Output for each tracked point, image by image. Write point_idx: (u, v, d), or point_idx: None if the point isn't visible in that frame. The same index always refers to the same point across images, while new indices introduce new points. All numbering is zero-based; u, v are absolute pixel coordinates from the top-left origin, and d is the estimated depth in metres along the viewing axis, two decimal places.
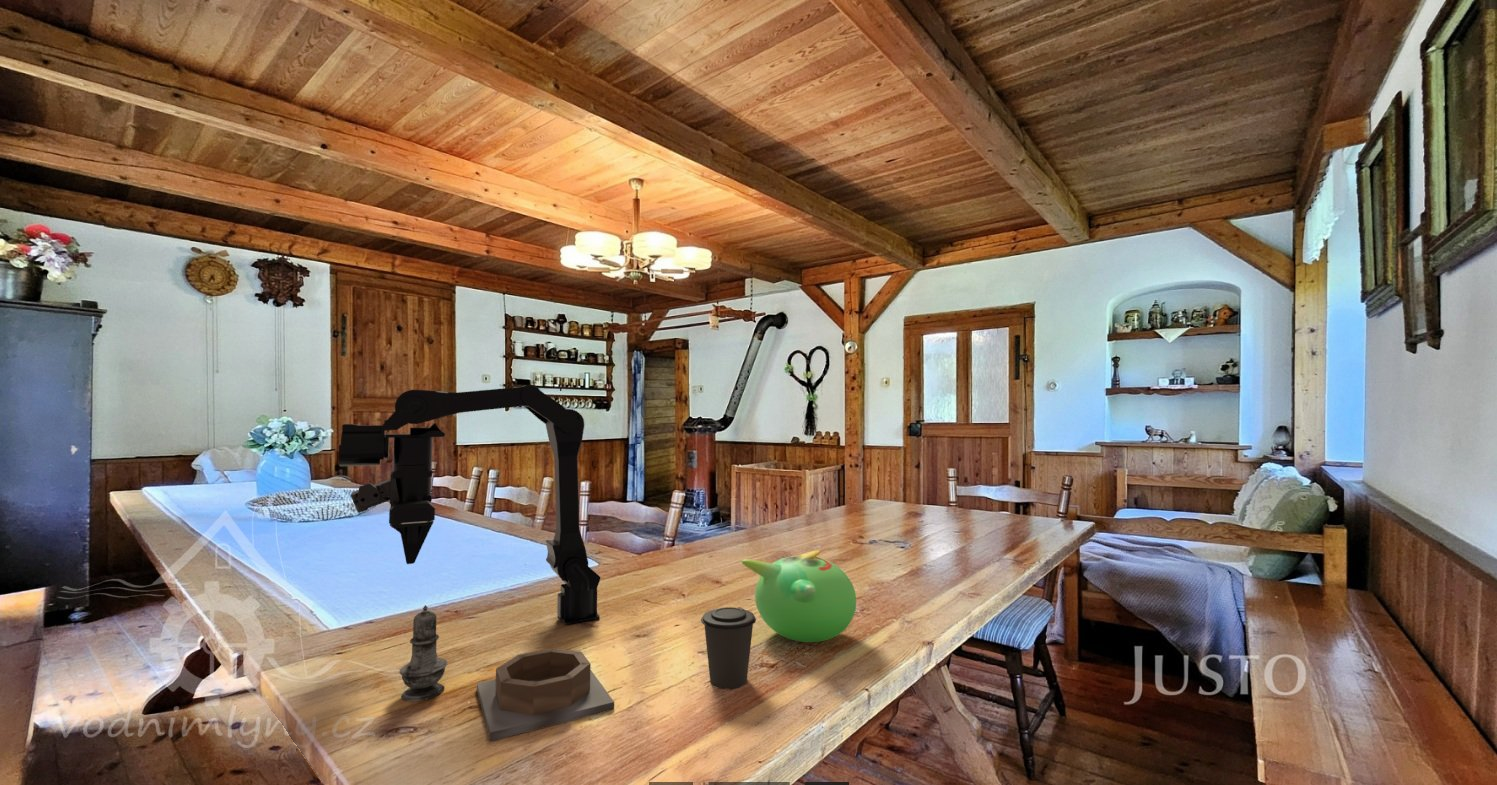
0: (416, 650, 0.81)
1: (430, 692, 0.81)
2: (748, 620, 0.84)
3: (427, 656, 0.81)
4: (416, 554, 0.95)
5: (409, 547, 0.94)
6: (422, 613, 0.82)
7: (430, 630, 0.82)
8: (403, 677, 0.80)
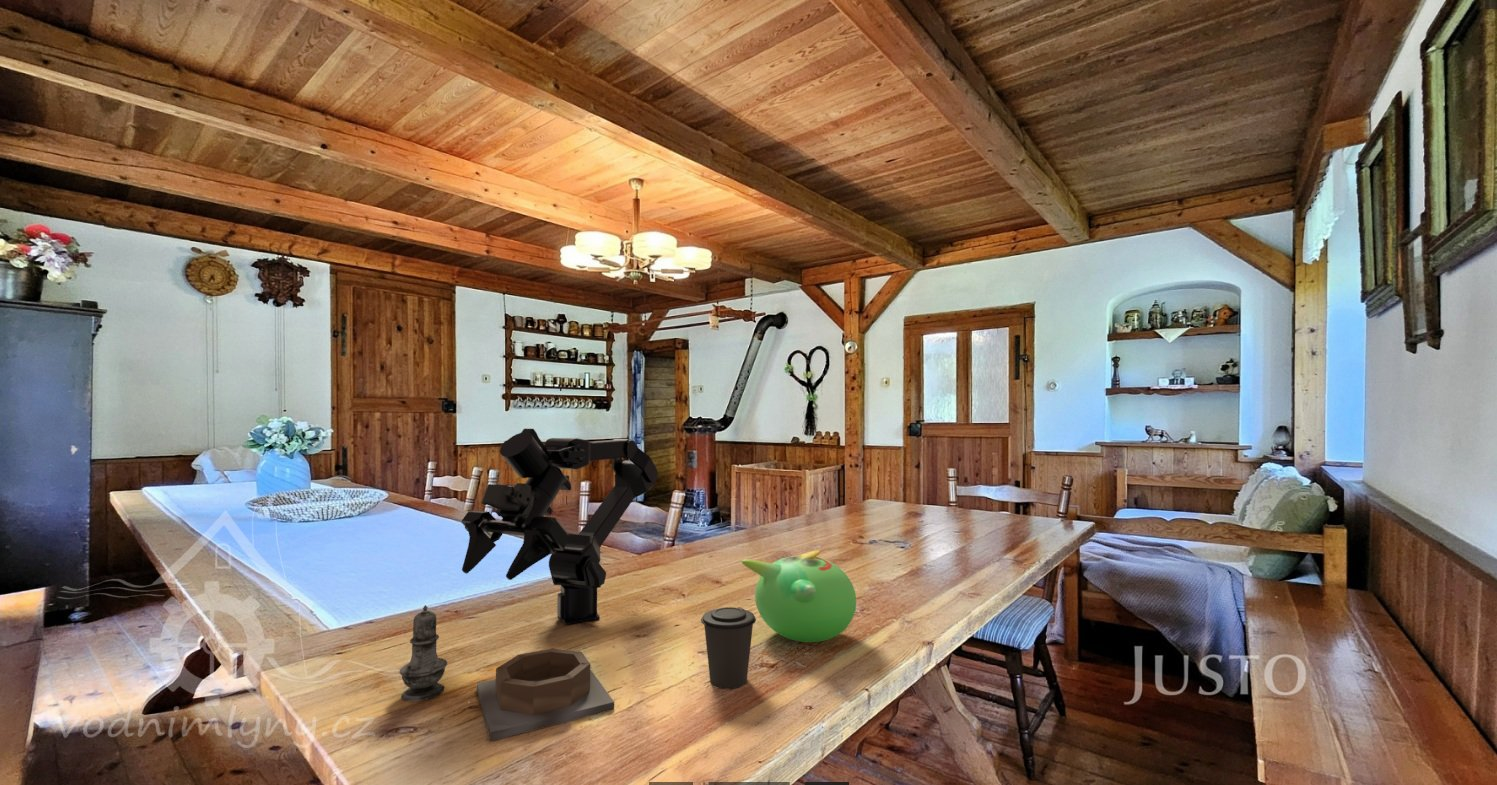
0: (416, 650, 0.81)
1: (430, 692, 0.81)
2: (748, 620, 0.84)
3: (427, 656, 0.81)
4: (519, 572, 0.92)
5: (522, 562, 0.92)
6: (422, 613, 0.82)
7: (430, 630, 0.82)
8: (403, 677, 0.80)
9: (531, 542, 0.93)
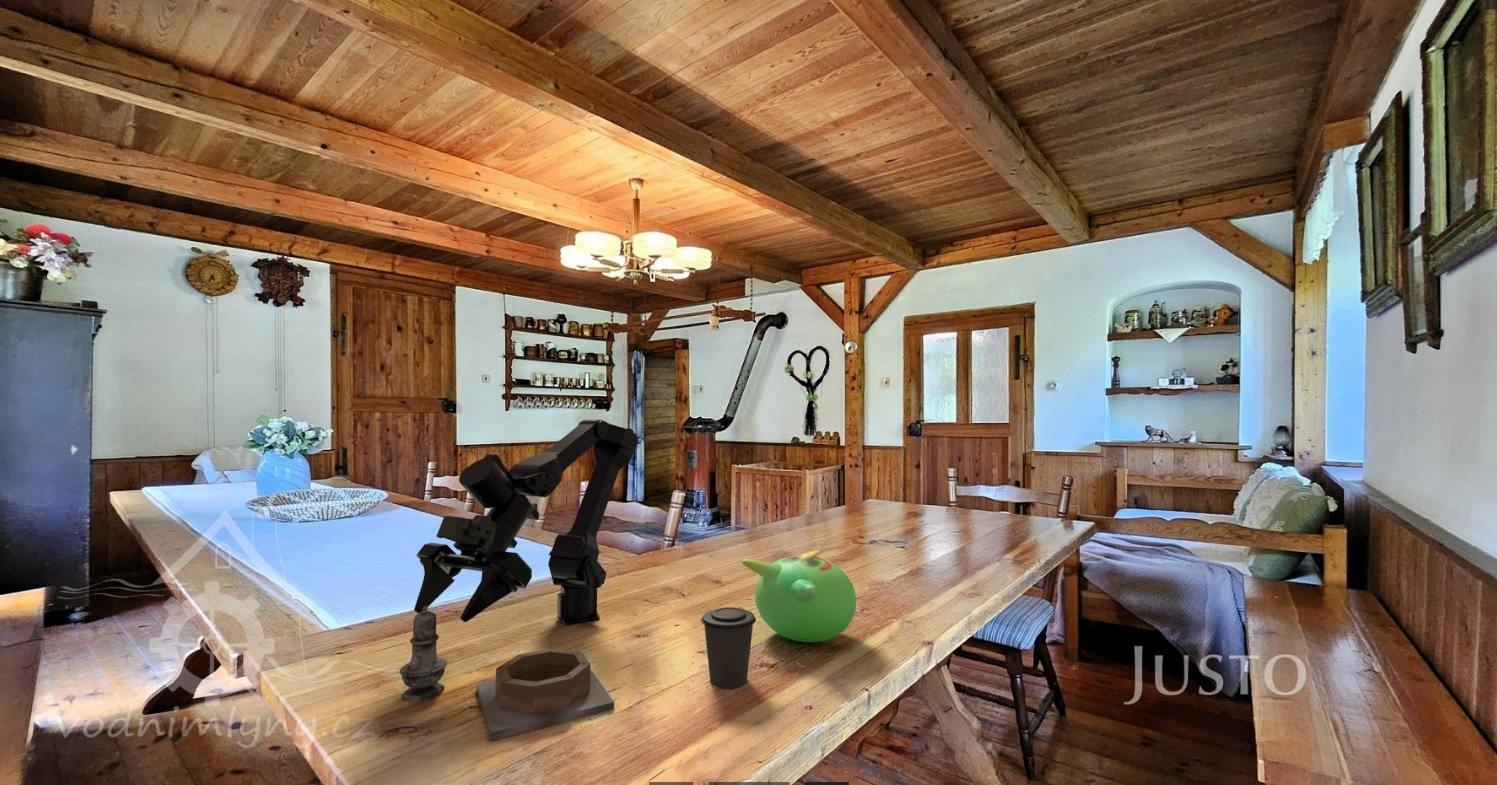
0: (416, 650, 0.81)
1: (430, 692, 0.81)
2: (748, 620, 0.84)
3: (427, 656, 0.81)
4: (475, 614, 0.84)
5: (479, 602, 0.84)
6: (422, 613, 0.82)
7: (430, 630, 0.82)
8: (403, 677, 0.80)
9: (489, 580, 0.85)
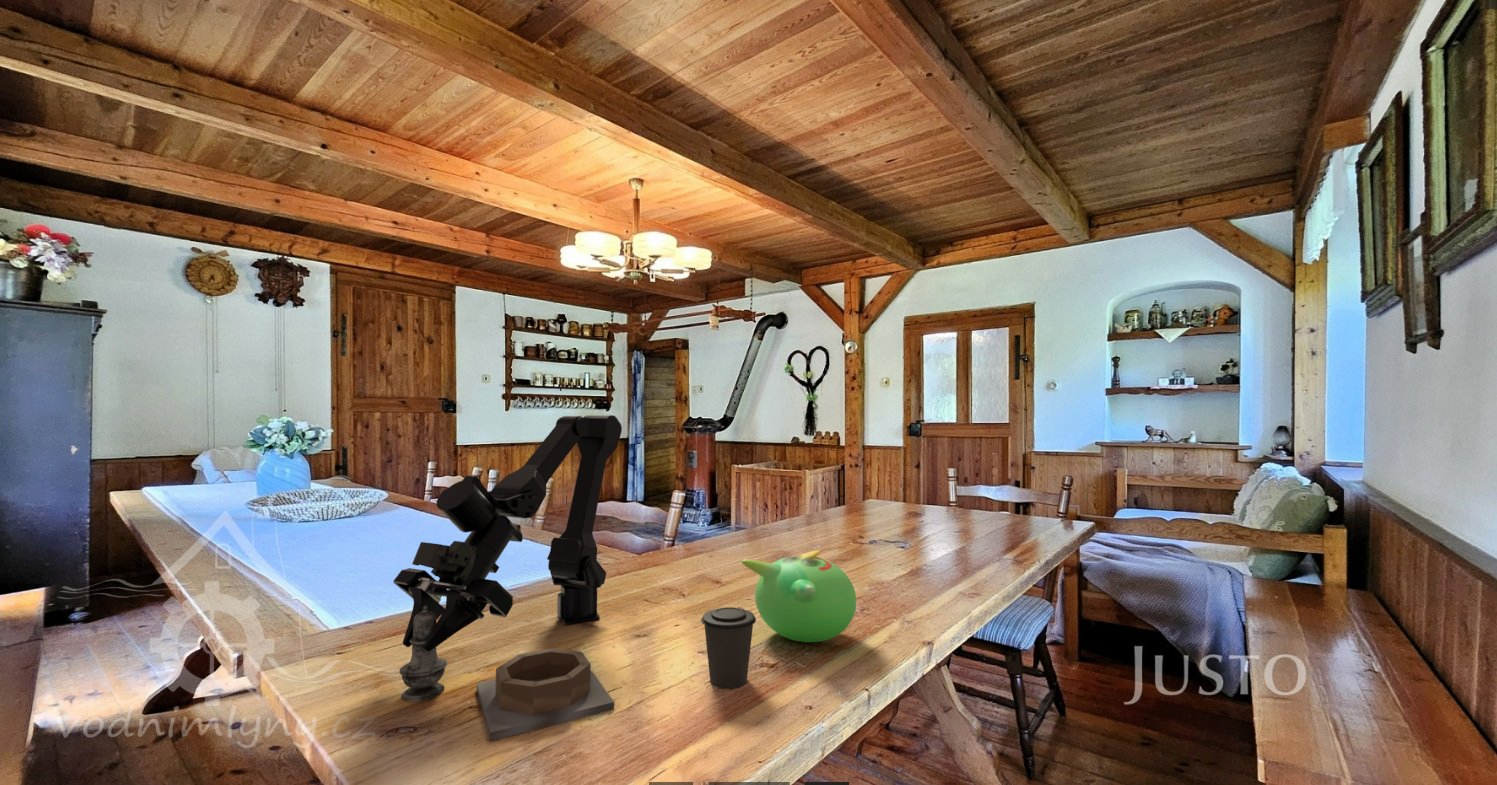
0: (416, 650, 0.81)
1: (430, 692, 0.81)
2: (748, 620, 0.84)
3: (427, 656, 0.81)
4: (439, 643, 0.82)
5: (443, 630, 0.82)
6: (422, 613, 0.82)
7: (430, 630, 0.82)
8: (403, 677, 0.80)
9: (454, 608, 0.82)
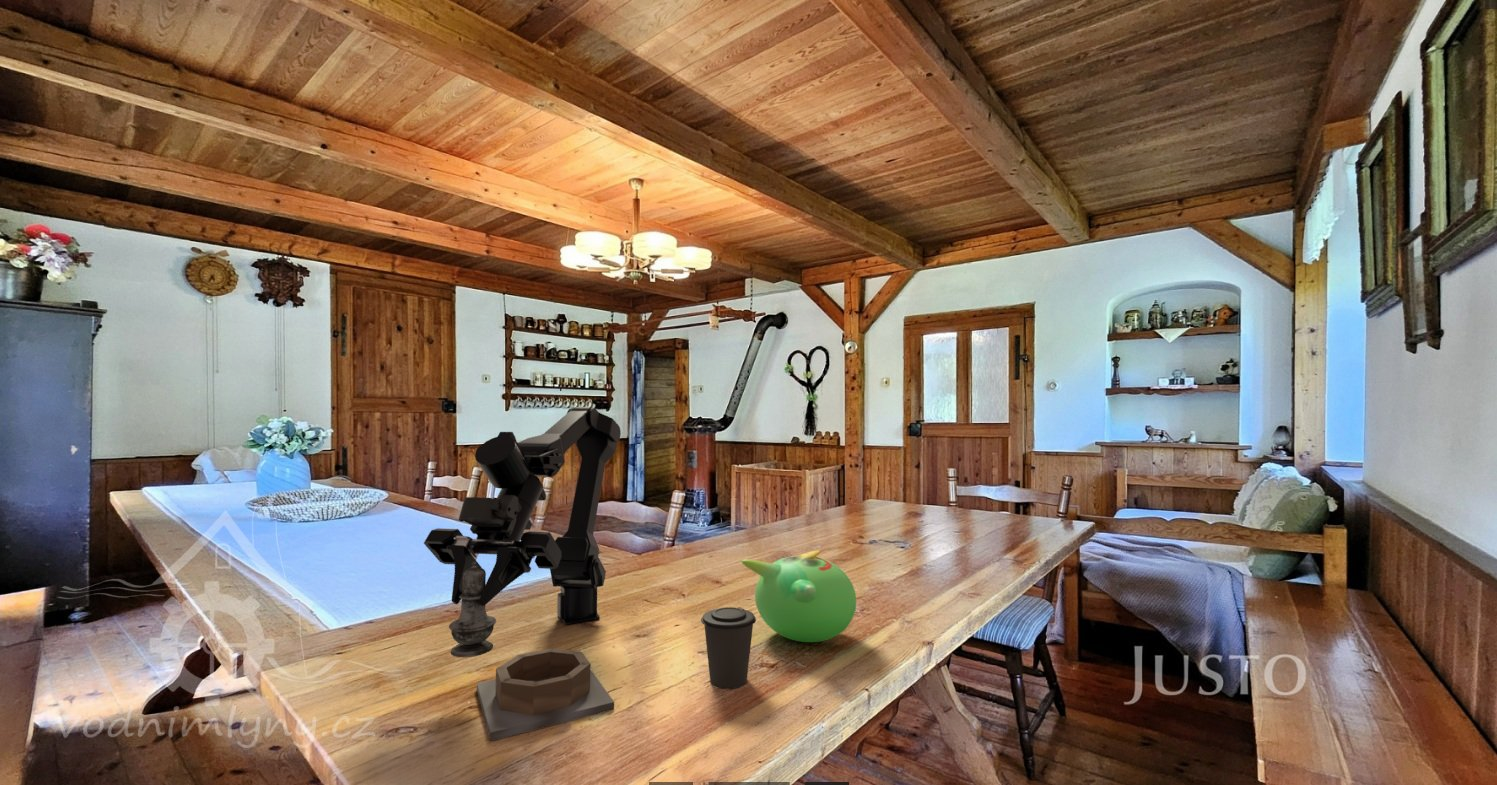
0: (468, 606, 0.79)
1: (483, 647, 0.80)
2: (748, 620, 0.84)
3: (480, 611, 0.80)
4: (492, 597, 0.81)
5: (496, 584, 0.81)
6: (473, 568, 0.80)
7: (482, 585, 0.80)
8: (455, 633, 0.78)
9: (506, 561, 0.82)
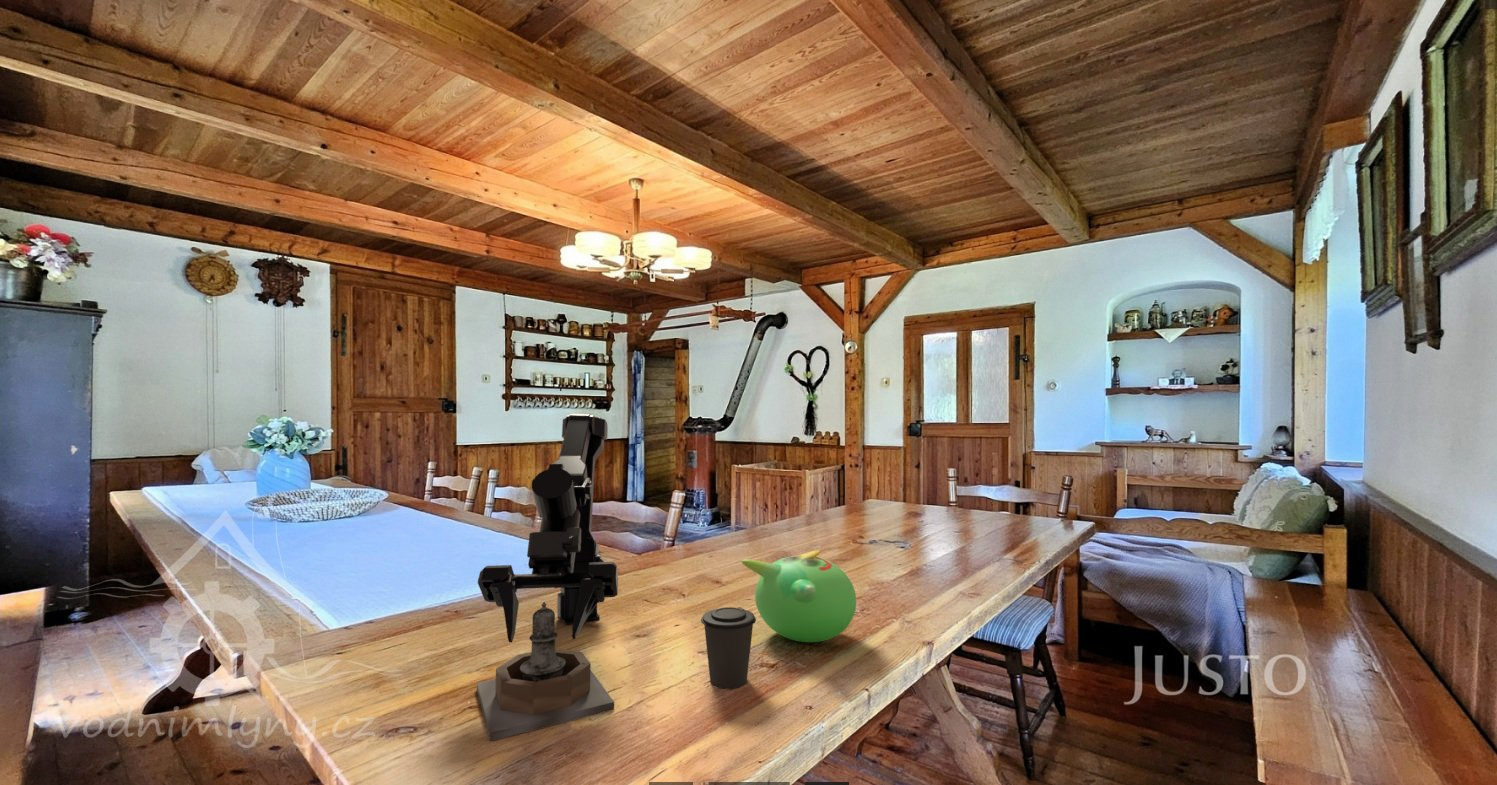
0: (543, 648, 0.79)
1: None
2: (748, 620, 0.84)
3: (553, 652, 0.80)
4: (580, 629, 0.81)
5: (583, 616, 0.82)
6: (544, 610, 0.80)
7: (553, 626, 0.81)
8: (532, 677, 0.78)
9: (591, 592, 0.83)
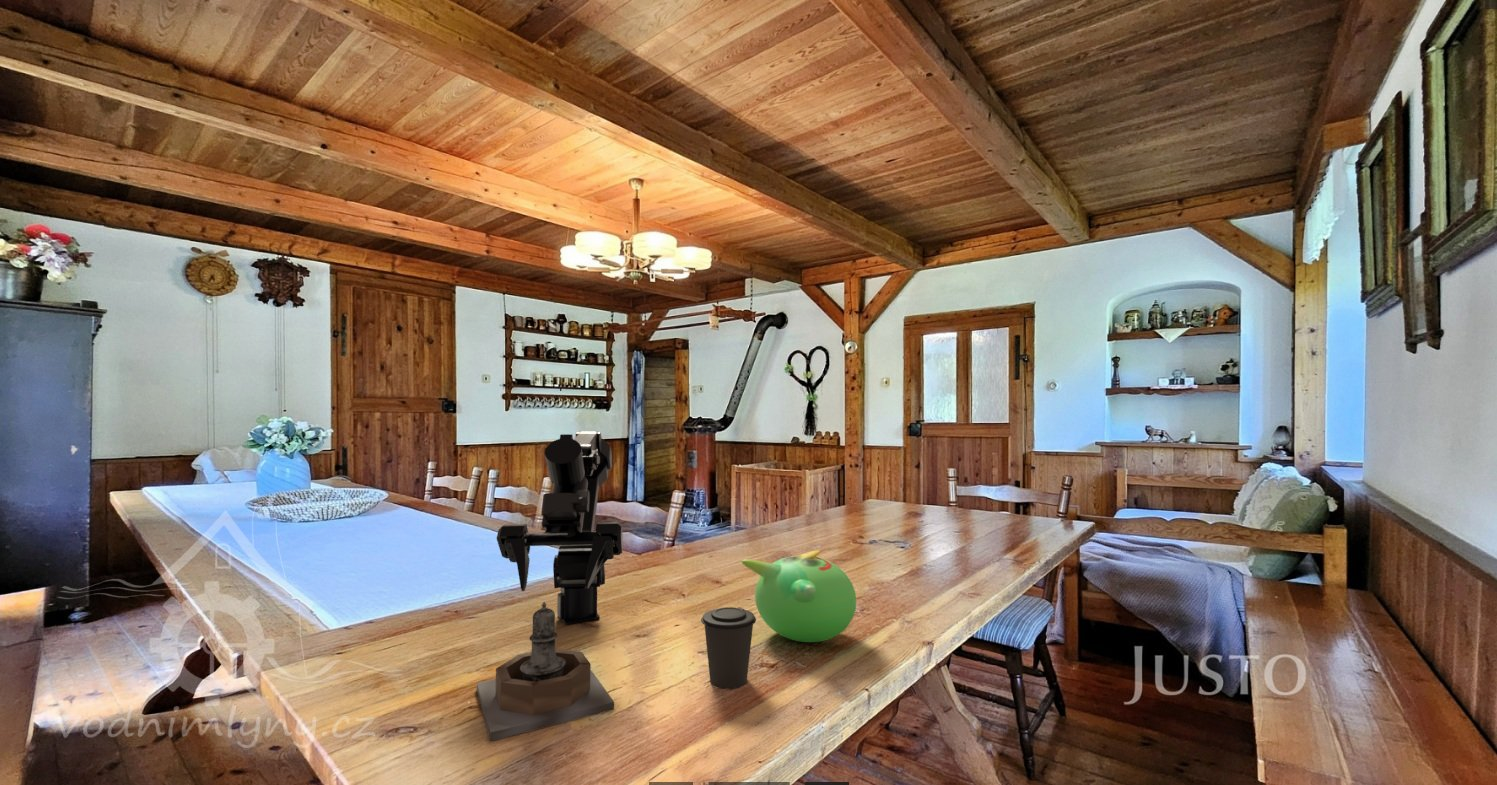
0: (543, 648, 0.79)
1: None
2: (748, 620, 0.84)
3: (553, 652, 0.80)
4: (592, 580, 0.90)
5: (595, 569, 0.91)
6: (544, 610, 0.80)
7: (553, 626, 0.81)
8: (532, 677, 0.78)
9: (602, 548, 0.92)
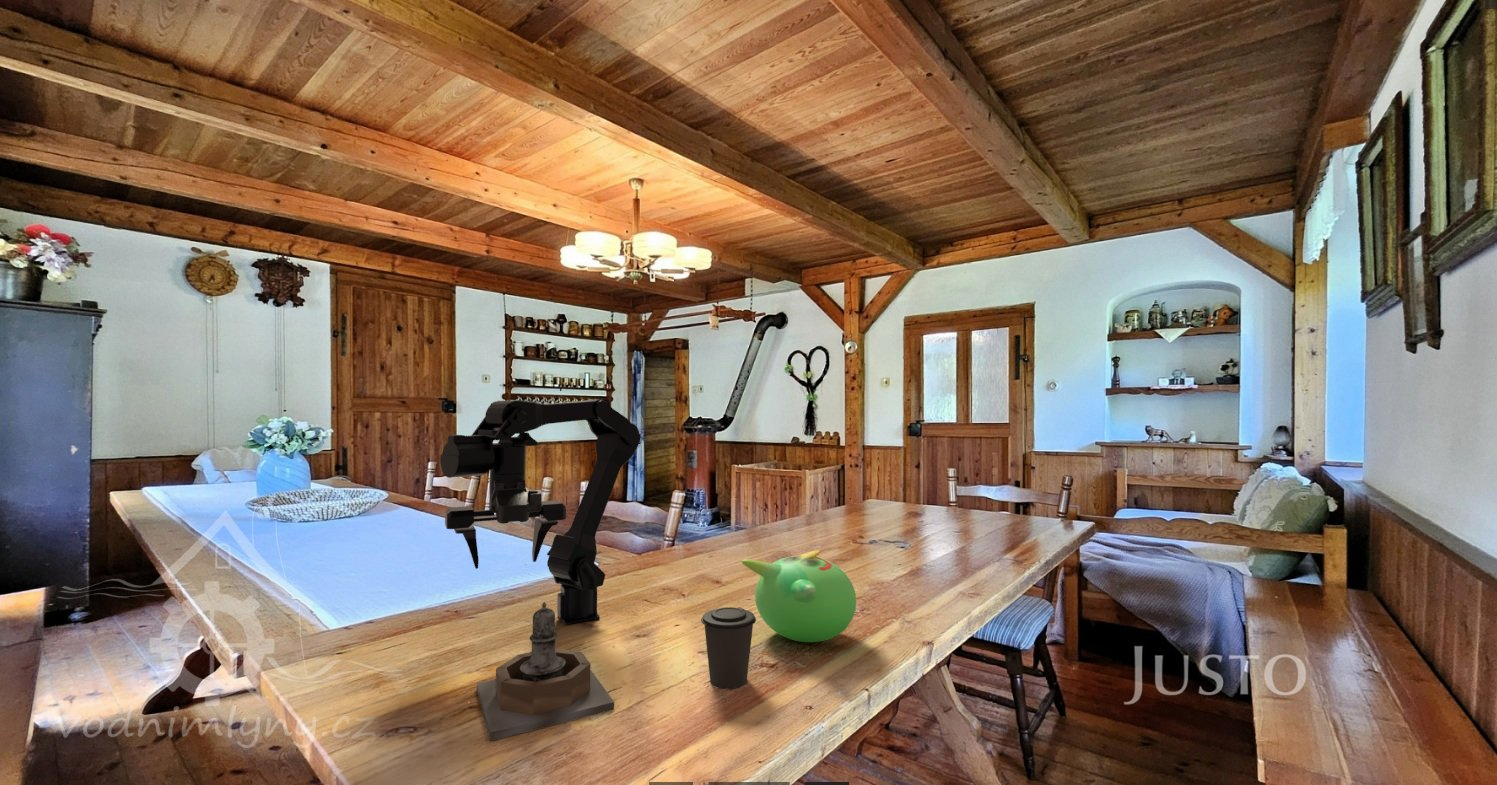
0: (543, 648, 0.79)
1: None
2: (748, 620, 0.84)
3: (553, 652, 0.80)
4: None
5: None
6: (544, 610, 0.80)
7: (553, 626, 0.81)
8: (532, 677, 0.78)
9: (548, 530, 1.03)
